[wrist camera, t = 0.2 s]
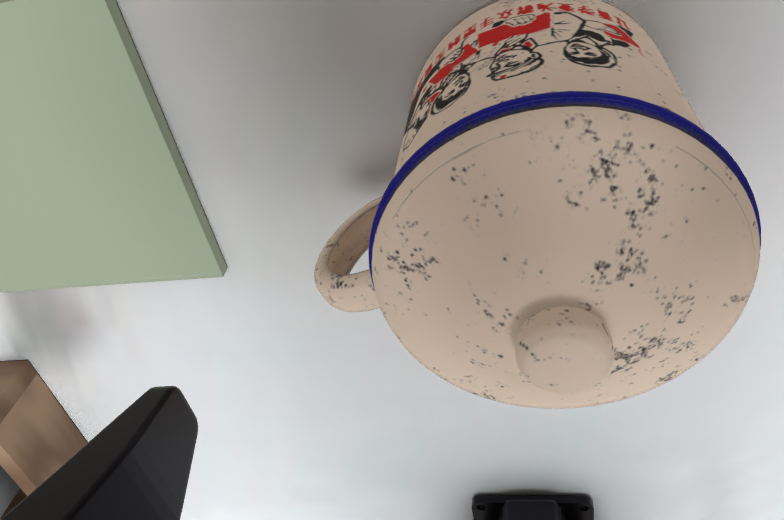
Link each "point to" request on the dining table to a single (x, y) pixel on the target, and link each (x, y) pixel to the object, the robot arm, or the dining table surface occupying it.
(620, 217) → the teacup with lid
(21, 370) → the walnut collar
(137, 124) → the rubber mat
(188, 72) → the dining table surface
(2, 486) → the parts canister
